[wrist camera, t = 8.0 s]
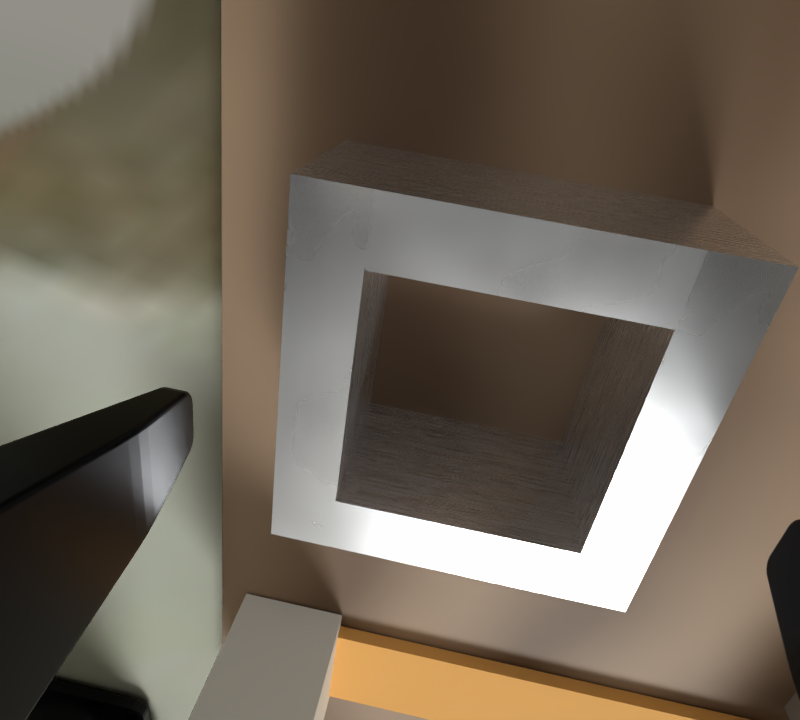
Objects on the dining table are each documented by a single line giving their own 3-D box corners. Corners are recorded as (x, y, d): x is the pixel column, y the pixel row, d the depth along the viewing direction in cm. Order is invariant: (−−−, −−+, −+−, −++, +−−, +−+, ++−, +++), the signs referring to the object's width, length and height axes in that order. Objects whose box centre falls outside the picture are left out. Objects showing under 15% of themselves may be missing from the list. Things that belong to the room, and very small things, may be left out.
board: (238, 678, 23) (168, 847, 18) (254, -88, 11) (66, -196, 6) (763, 801, 21) (840, 1019, 17) (1395, 92, 10) (2251, 132, 5)
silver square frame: (318, 432, 15) (271, 533, 12) (346, 140, 11) (290, 173, 8) (597, 490, 14) (624, 612, 11) (713, 206, 11) (798, 267, 8)
